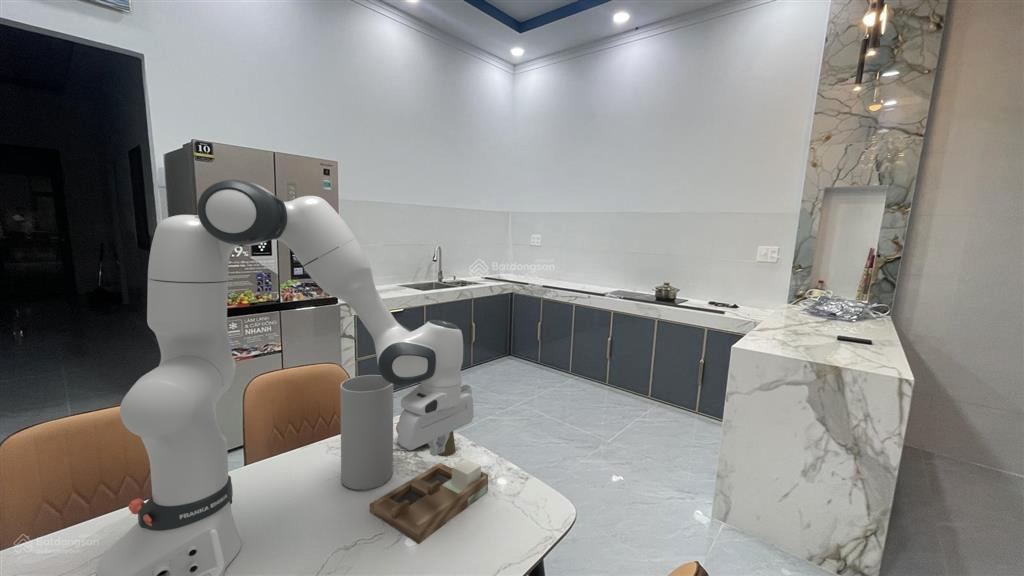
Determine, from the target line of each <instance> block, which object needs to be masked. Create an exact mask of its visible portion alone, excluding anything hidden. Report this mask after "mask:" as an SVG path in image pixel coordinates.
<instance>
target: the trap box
mask: <svg viewBox="0 0 1024 576" xmlns="http://www.w3.org/2000/svg"><path fill="white" fill-rule="evenodd" d="M488 488H489V474H488V473H486V472H484V471H481V478H480V479H478V480H477V481H476V482H474V483H473V484H471V485H470V486H468V487H467V488H466V489H464V490H461V489H459V488H458V487H456V486H454V485H452V467H451V466H448V465H446V464H444V463H441V462H439V463H437V464H435V465H434V466H432V467H430V468H429V469H427V470H425V471H424V472H422V473H420V474H418V475H417V476H415V477H413V478H411V479H410V480H408V481H406V482H404V483H403V484H401V485H399V486H397V487H396V488H395V489H392V490H390V491H389V492H387V493H385V494H384V495H382V496H380V497H378V498H377V499H375V500H373V501H371V502H370V503H369V513H371V514H372V515H373V516H375V517H376V518H379V520H381V521H383V522H384V523H385V524H387V525H389V526H390V527H392V528H393V529H395V530H397V531H398V532H399V533H400V534H403V535H404V536H406V537H407V538H409V539H410V540H412V541H413V542H415V543H416V544H417V545H419V544H421V543H422V542H423V541H425V540H426V539H427V538H429V537H430V536H431V535H432V534H434V533H435V532H436V531H437V530H439V529H440V528H442V527H443V526H444V525H445V524H447V523H448V522H450V521H451V520H452V519H454V518H455V517H457V515H459V514H460V513H461V512H463V511H465V509H466V508H468V507H469V506H471V505H472V504H473V503H475V502H476V501H478V500H479V499H480V498H481V497H483V496H484V495H485V494H487V492H488Z"/></svg>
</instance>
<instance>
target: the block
mask: <svg viewBox="0 0 1024 576" xmlns="http://www.w3.org/2000/svg"><path fill="white" fill-rule="evenodd" d="M451 468H452V485H454V486H456V487H458V488H459V489H461V490H464V489H466V488H467V487H468V486H470V485H471V484H473V483H474V482H476V481H477V480H478V479H480V478H481V472H482V465H481V464H479V463H476V462H474V461H472V460H470V459H467V458H465V459H463V460H461V461H460V462H457V463H455V464H454V466H451Z"/></svg>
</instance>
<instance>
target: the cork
mask: <svg viewBox="0 0 1024 576" xmlns="http://www.w3.org/2000/svg"><path fill="white" fill-rule="evenodd" d="M454 435H455V434H454V431H452V432H450V435H449V438H448V440H447V442H446V444H445V451H444V452H442V453H440V454H438V455H437V456H439V457H449V456H452V455H454V454H455V453H456V443H455V436H454ZM438 440H439V438H438ZM437 443H438V442H436V444H437Z"/></svg>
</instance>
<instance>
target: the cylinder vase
mask: <svg viewBox="0 0 1024 576" xmlns="http://www.w3.org/2000/svg"><path fill="white" fill-rule="evenodd" d="M339 389H340V392H339V393H340V477H341V478H340V480H341V483H342V485H344V486H345V487H346V488H348V489H351V490H355V491H367V490H373V489H376V488H378V487H380V486H382V485H384V484H386V483H387V482H389V480H390V479H391V477H392V475H393V473H394V384H392V383H390V382H388V381H386V380H385V379H384V378H383V377H382V375H381V374H380V375H378V374H367V375H359V376H353V377H351V378H348V379H345V380H344V381H342V382H341V383H340V387H339Z"/></svg>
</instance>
